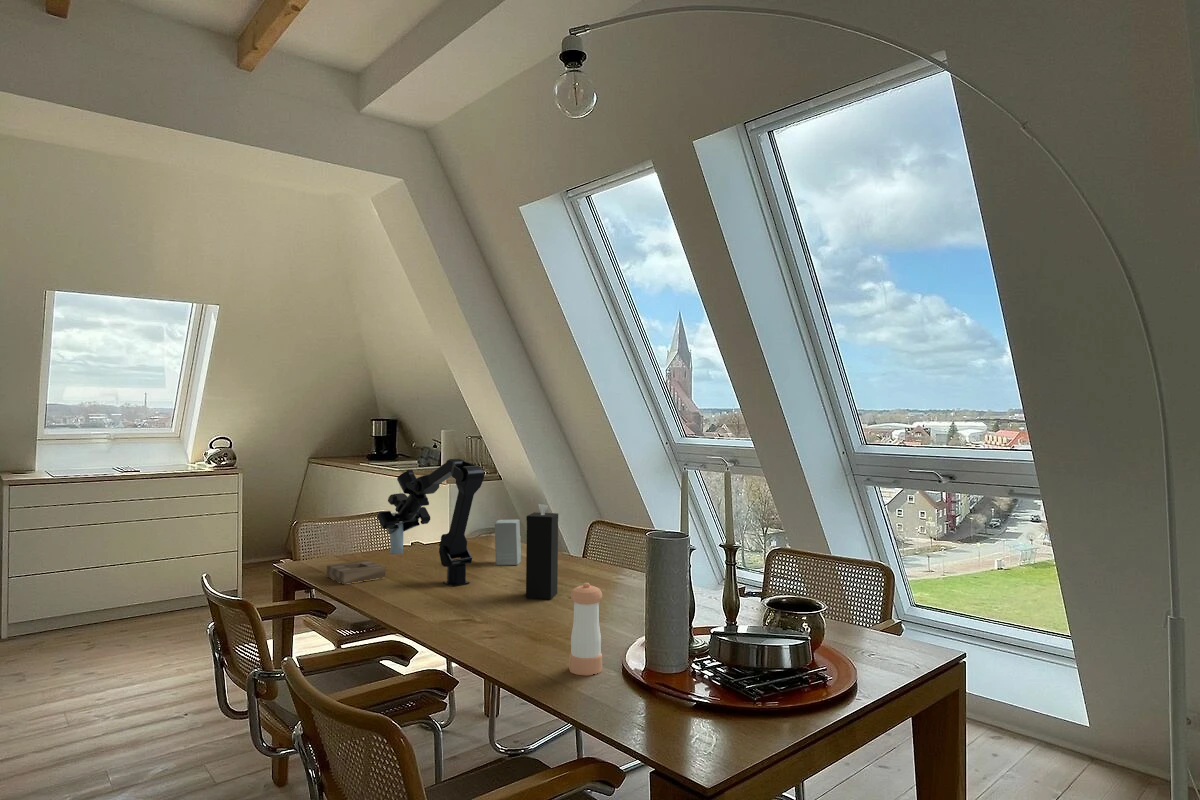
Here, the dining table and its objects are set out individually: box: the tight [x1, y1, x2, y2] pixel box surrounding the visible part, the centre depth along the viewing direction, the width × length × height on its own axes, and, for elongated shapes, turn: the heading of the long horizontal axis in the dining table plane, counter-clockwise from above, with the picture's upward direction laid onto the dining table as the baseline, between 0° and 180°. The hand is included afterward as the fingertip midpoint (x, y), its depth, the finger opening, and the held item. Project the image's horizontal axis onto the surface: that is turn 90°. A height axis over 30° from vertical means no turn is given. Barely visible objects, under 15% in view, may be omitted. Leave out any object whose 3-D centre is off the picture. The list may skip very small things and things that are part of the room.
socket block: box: [326, 559, 386, 584], centre depth 256 cm, size 14×14×4 cm
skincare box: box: [494, 519, 522, 566], centre depth 281 cm, size 8×7×16 cm
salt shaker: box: [568, 582, 603, 676], centre depth 171 cm, size 7×7×19 cm
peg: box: [389, 512, 404, 555], centre depth 274 cm, size 4×4×14 cm
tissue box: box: [525, 503, 559, 600], centre depth 236 cm, size 8×8×28 cm
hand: (394, 532), depth 274 cm, fingers closed on peg, 4 cm apart
